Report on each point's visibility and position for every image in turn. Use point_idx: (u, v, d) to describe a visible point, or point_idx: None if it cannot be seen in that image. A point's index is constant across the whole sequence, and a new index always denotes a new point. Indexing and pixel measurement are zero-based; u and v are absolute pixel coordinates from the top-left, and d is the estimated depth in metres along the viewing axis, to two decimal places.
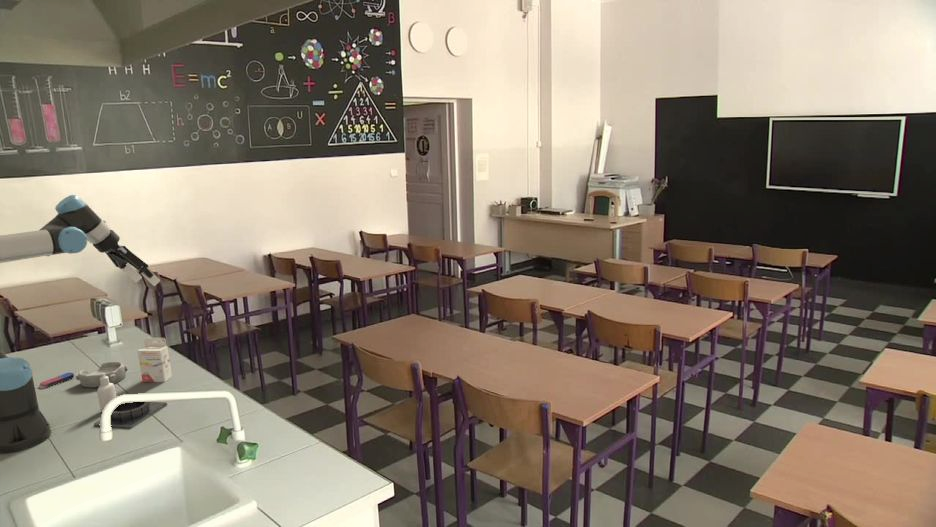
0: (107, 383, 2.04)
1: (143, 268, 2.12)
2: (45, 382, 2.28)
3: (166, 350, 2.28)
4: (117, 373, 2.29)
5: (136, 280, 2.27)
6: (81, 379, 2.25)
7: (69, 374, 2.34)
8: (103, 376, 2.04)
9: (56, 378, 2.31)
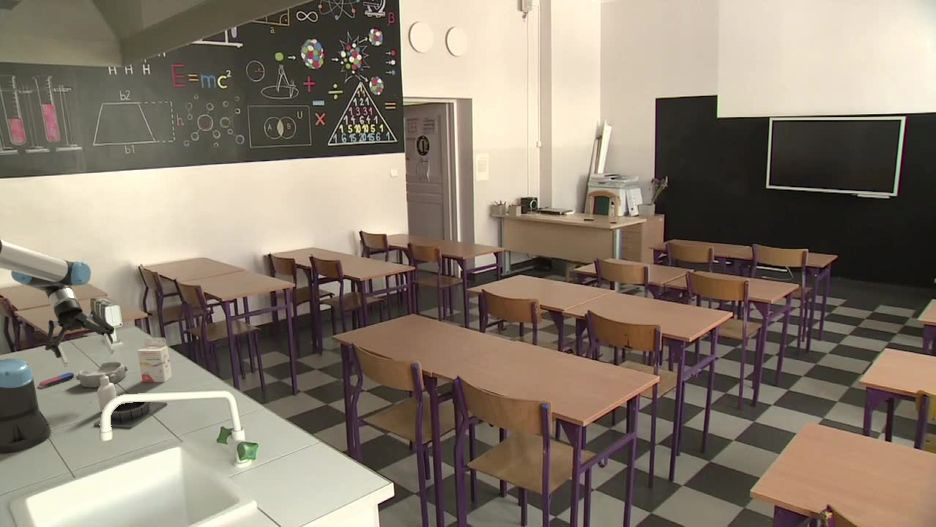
0: (107, 383, 2.04)
1: None
2: (44, 382, 2.29)
3: (166, 350, 2.28)
4: (117, 373, 2.29)
5: None
6: (81, 379, 2.25)
7: (69, 374, 2.34)
8: (103, 376, 2.04)
9: (56, 378, 2.32)
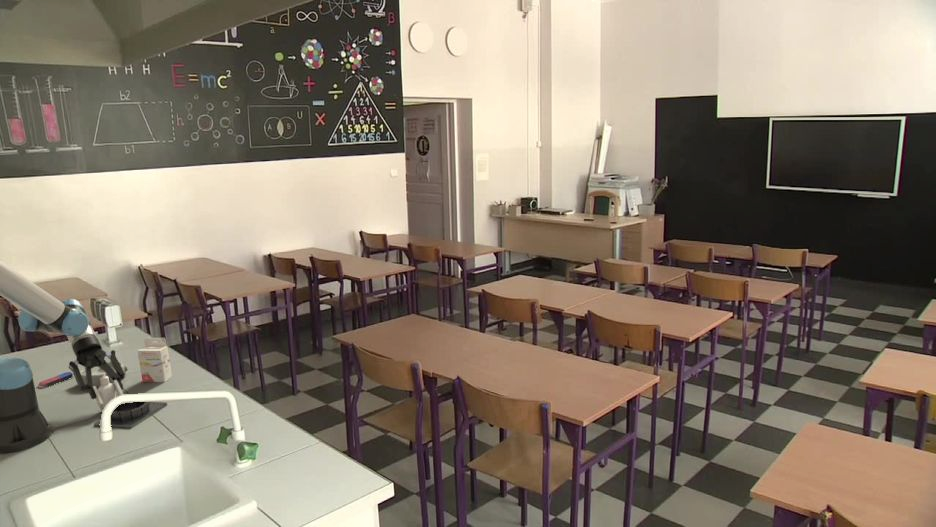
0: (107, 383, 2.04)
1: None
2: (44, 382, 2.29)
3: (166, 350, 2.28)
4: None
5: None
6: None
7: (68, 374, 2.35)
8: (103, 376, 2.04)
9: (55, 378, 2.32)
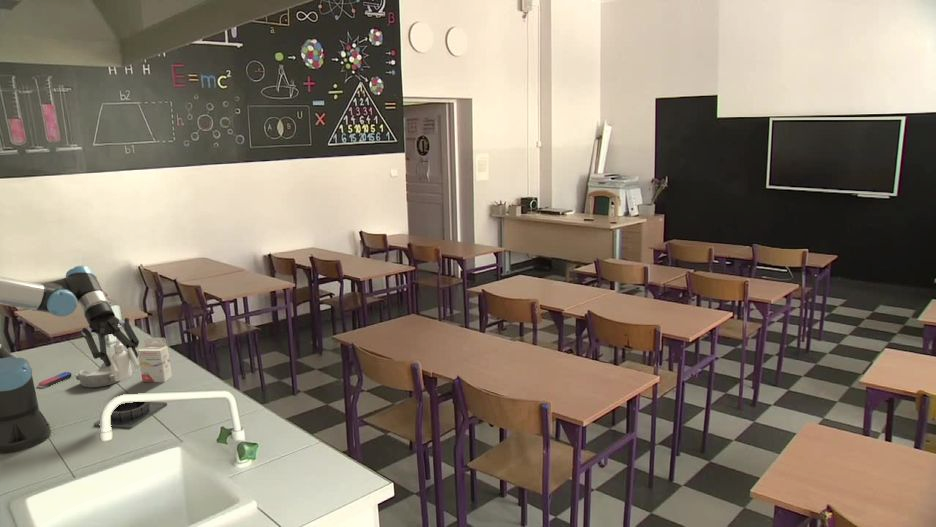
0: (122, 350, 1.97)
1: None
2: (44, 382, 2.29)
3: (166, 350, 2.28)
4: None
5: None
6: (81, 379, 2.25)
7: (67, 373, 2.35)
8: (117, 343, 1.97)
9: (54, 378, 2.32)
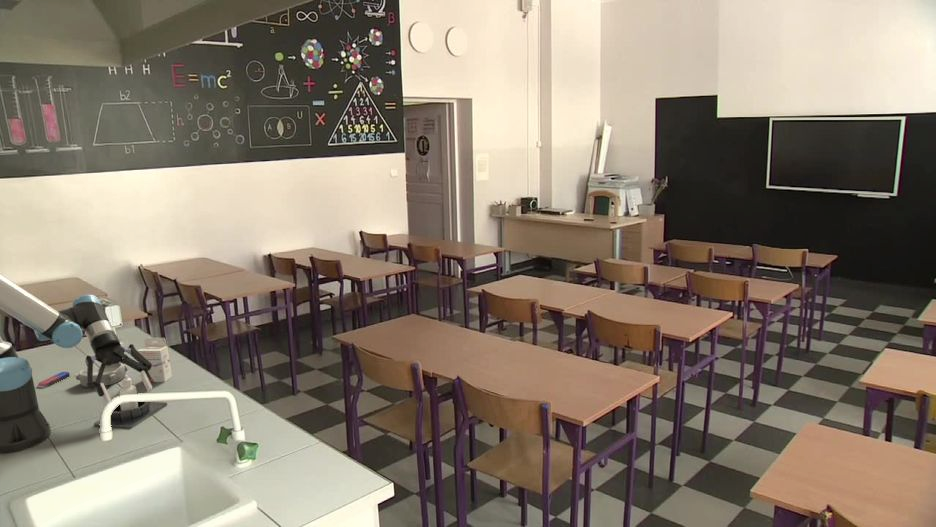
0: (130, 385, 1.99)
1: None
2: (44, 382, 2.29)
3: (166, 350, 2.28)
4: (117, 373, 2.29)
5: None
6: (81, 379, 2.25)
7: (65, 373, 2.36)
8: (126, 378, 1.99)
9: (53, 377, 2.32)
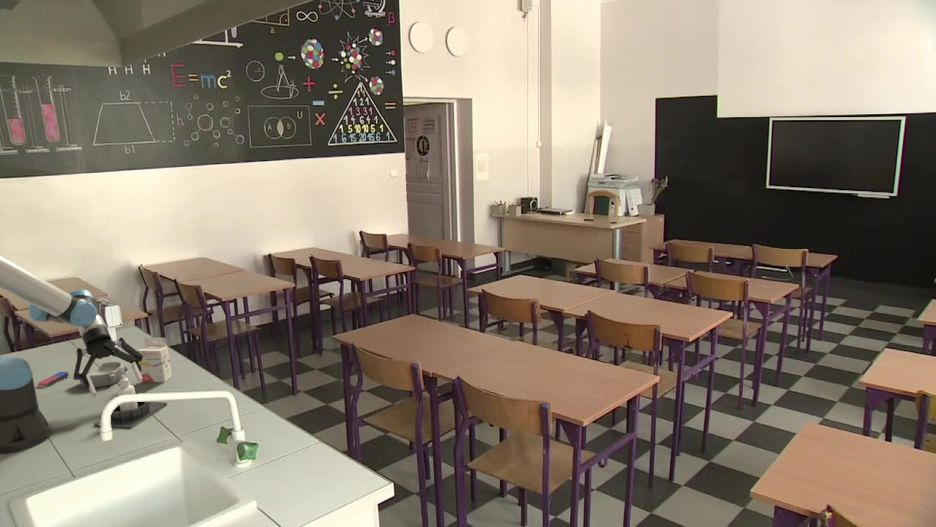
0: (127, 385, 1.99)
1: None
2: (44, 382, 2.29)
3: (166, 350, 2.28)
4: (117, 373, 2.29)
5: None
6: None
7: (63, 373, 2.36)
8: (123, 378, 1.99)
9: (52, 377, 2.32)
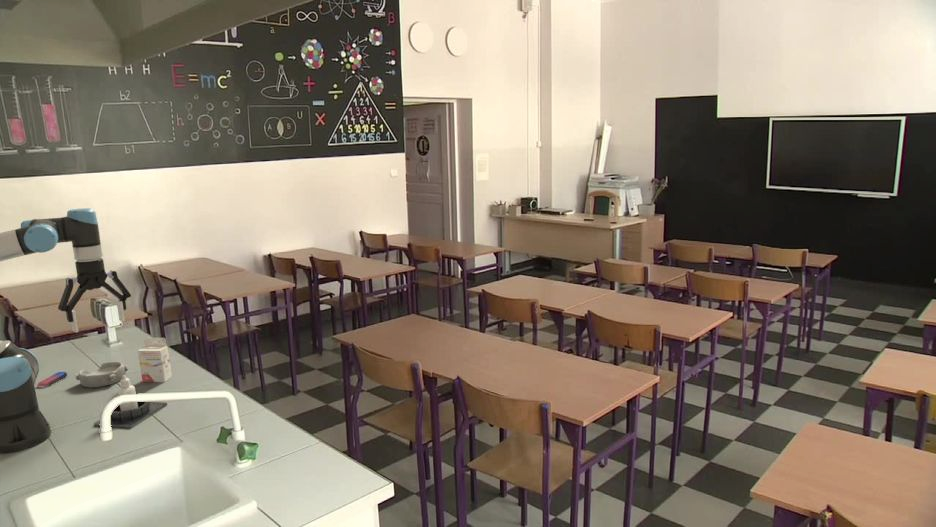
0: (128, 385, 1.99)
1: None
2: (44, 382, 2.29)
3: (166, 350, 2.28)
4: (117, 373, 2.29)
5: None
6: (81, 379, 2.25)
7: (62, 373, 2.36)
8: (124, 378, 1.99)
9: (52, 377, 2.32)
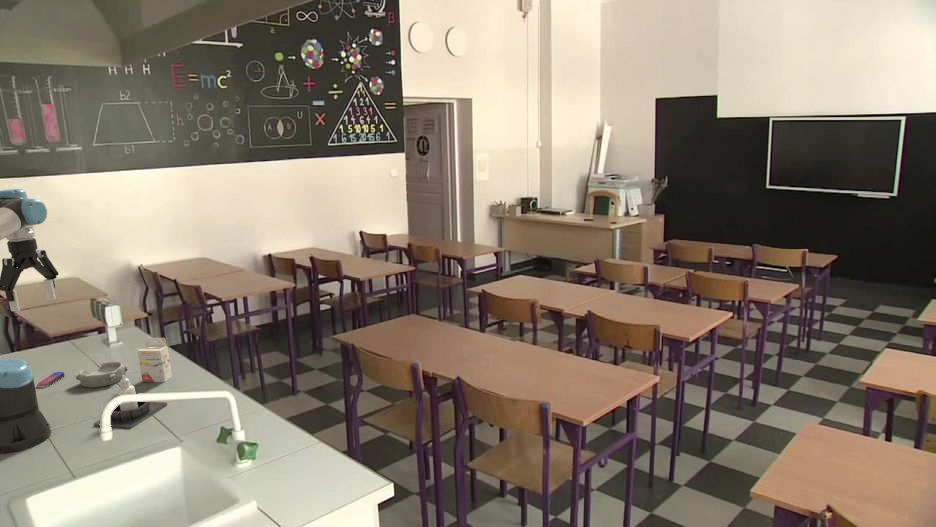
0: (128, 385, 1.99)
1: None
2: (44, 382, 2.29)
3: (166, 350, 2.28)
4: (117, 373, 2.29)
5: (48, 297, 2.15)
6: (81, 379, 2.25)
7: (59, 373, 2.36)
8: (124, 378, 1.99)
9: (50, 377, 2.32)
